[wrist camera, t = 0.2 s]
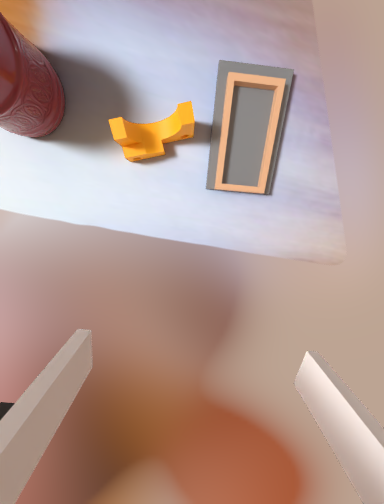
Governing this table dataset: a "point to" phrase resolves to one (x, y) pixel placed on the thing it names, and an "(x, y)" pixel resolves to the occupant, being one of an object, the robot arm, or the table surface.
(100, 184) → the table surface
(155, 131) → the pipe clamp
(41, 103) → the canister
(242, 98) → the holder board
